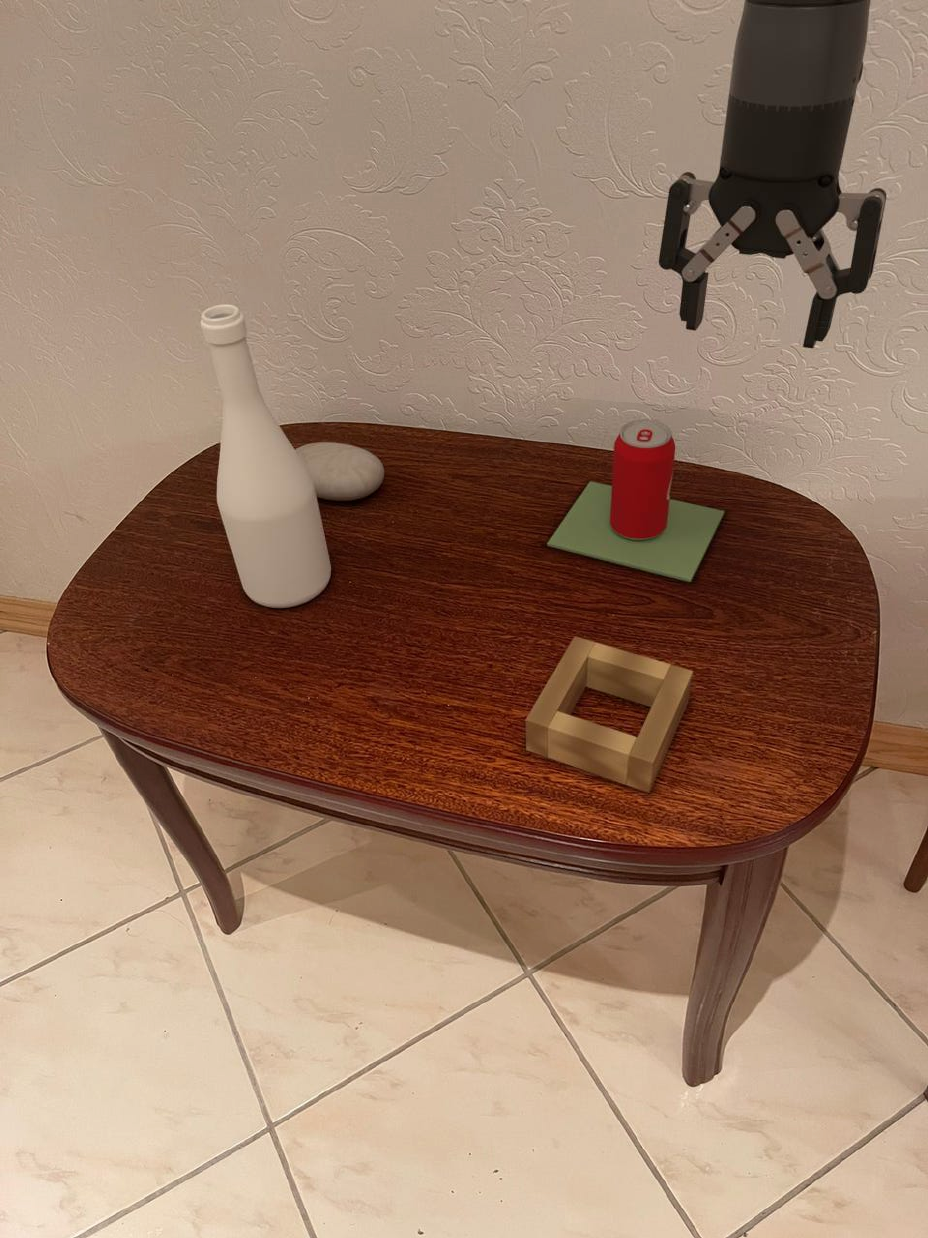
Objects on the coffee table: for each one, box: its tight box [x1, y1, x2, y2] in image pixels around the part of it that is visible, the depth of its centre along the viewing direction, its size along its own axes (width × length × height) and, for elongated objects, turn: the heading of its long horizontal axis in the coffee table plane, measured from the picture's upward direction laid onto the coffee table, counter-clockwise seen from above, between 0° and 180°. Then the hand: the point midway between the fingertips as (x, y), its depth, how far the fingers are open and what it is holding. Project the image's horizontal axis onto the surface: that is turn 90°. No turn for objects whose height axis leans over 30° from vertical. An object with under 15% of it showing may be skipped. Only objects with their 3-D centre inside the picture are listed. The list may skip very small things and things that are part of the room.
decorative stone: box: [294, 441, 385, 502], centre depth 106 cm, size 13×9×5 cm
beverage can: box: [610, 418, 676, 540], centre depth 94 cm, size 6×6×12 cm
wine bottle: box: [200, 304, 332, 609], centre depth 85 cm, size 10×10×30 cm
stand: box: [525, 635, 694, 794], centre depth 76 cm, size 11×11×4 cm
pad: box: [546, 480, 725, 583], centre depth 98 cm, size 16×13×1 cm
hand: (751, 334), depth 66 cm, fingers open, 8 cm apart
